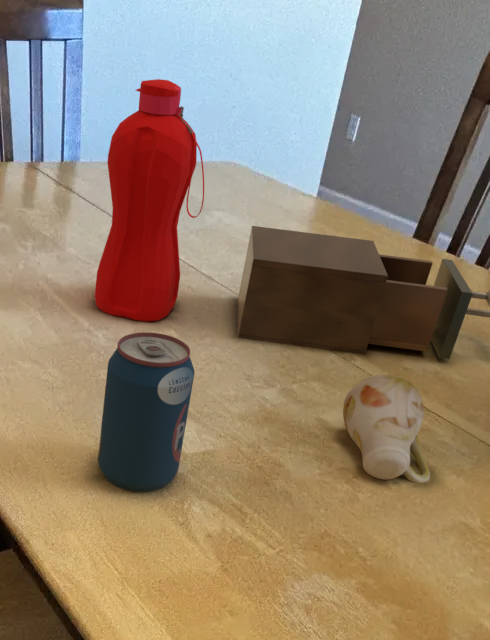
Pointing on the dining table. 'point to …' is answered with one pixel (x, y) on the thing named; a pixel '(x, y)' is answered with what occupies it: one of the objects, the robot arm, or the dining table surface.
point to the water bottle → (147, 206)
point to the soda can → (145, 411)
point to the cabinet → (310, 290)
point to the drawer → (423, 306)
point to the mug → (386, 426)
